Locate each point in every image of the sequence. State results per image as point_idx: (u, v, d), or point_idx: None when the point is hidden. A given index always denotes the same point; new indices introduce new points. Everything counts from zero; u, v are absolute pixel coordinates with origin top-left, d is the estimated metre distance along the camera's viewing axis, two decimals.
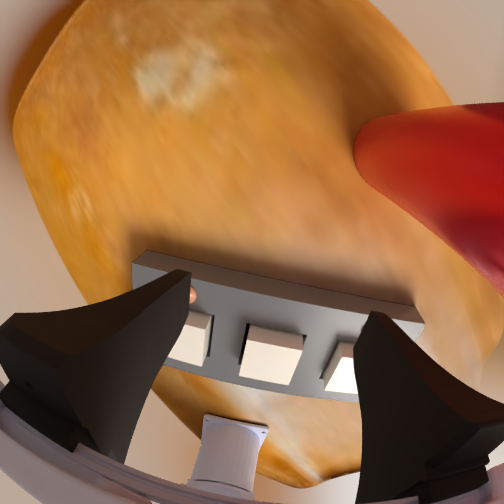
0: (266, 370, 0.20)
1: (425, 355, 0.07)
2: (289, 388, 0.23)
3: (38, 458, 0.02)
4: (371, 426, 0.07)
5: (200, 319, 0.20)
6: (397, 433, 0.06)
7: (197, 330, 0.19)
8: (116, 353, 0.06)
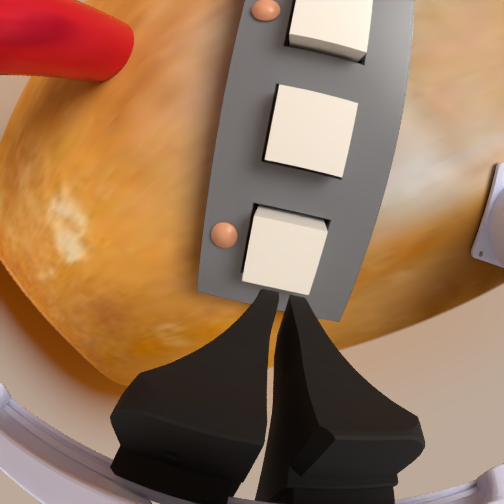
0: (325, 135, 0.13)
1: (329, 343, 0.07)
2: (388, 107, 0.13)
3: (38, 458, 0.02)
4: (274, 417, 0.08)
5: None
6: (283, 427, 0.06)
7: (256, 226, 0.15)
8: None
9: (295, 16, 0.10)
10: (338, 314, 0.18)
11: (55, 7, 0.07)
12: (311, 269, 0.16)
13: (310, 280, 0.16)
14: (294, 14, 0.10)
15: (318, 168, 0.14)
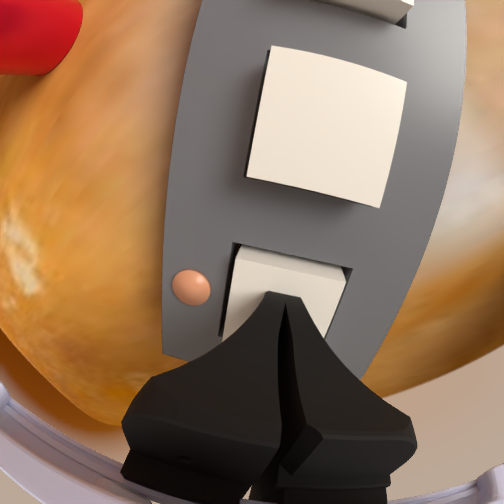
0: (354, 133, 0.07)
1: (322, 342, 0.07)
2: (443, 95, 0.07)
3: (38, 458, 0.02)
4: None
5: None
6: None
7: (239, 273, 0.10)
8: None
9: None
10: None
11: None
12: (319, 331, 0.11)
13: None
14: None
15: (340, 192, 0.08)
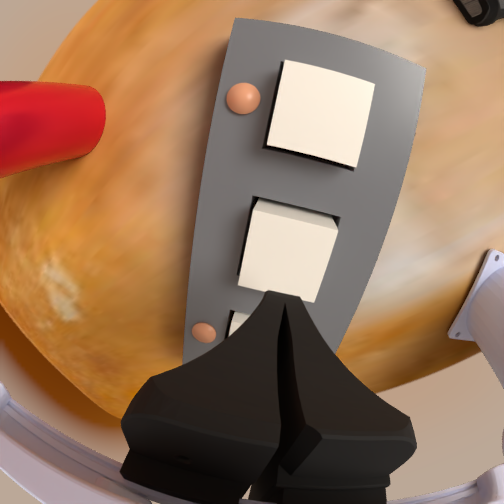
0: (300, 264, 0.14)
1: (322, 342, 0.07)
2: (375, 220, 0.14)
3: (38, 458, 0.02)
4: None
5: None
6: None
7: (234, 329, 0.17)
8: None
9: (275, 119, 0.11)
10: None
11: (3, 115, 0.07)
12: None
13: None
14: (274, 116, 0.11)
15: (290, 294, 0.14)
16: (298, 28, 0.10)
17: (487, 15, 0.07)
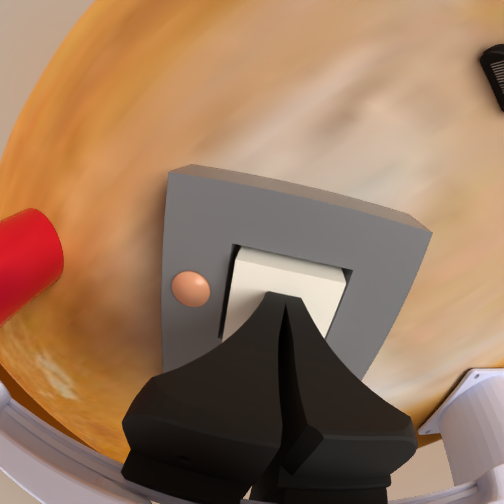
0: None
1: (322, 342, 0.07)
2: None
3: (38, 458, 0.02)
4: None
5: None
6: None
7: None
8: None
9: (228, 323, 0.11)
10: None
11: None
12: None
13: None
14: (227, 320, 0.11)
15: None
16: (255, 190, 0.10)
17: None
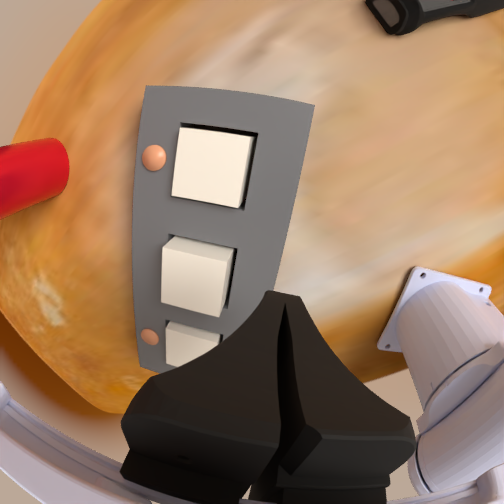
0: (202, 287, 0.17)
1: (321, 342, 0.07)
2: (268, 250, 0.17)
3: (38, 458, 0.02)
4: None
5: None
6: None
7: (168, 334, 0.20)
8: None
9: (175, 176, 0.15)
10: None
11: None
12: None
13: None
14: (174, 173, 0.15)
15: (200, 310, 0.18)
16: (193, 89, 0.14)
17: (406, 22, 0.11)
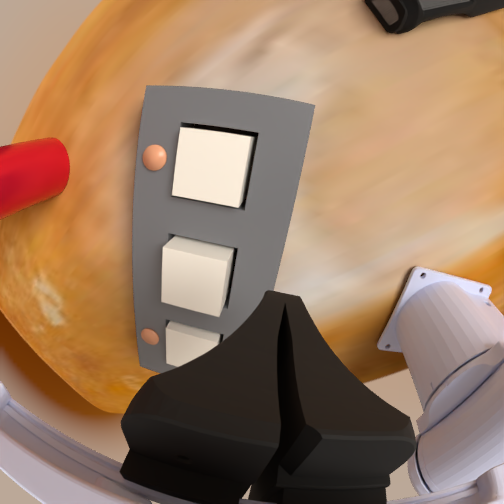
0: (202, 287, 0.17)
1: (321, 342, 0.07)
2: (268, 249, 0.17)
3: (38, 458, 0.02)
4: None
5: None
6: None
7: (168, 334, 0.20)
8: None
9: (176, 176, 0.15)
10: None
11: None
12: None
13: None
14: (175, 173, 0.15)
15: (200, 310, 0.18)
16: (194, 89, 0.14)
17: (405, 20, 0.11)
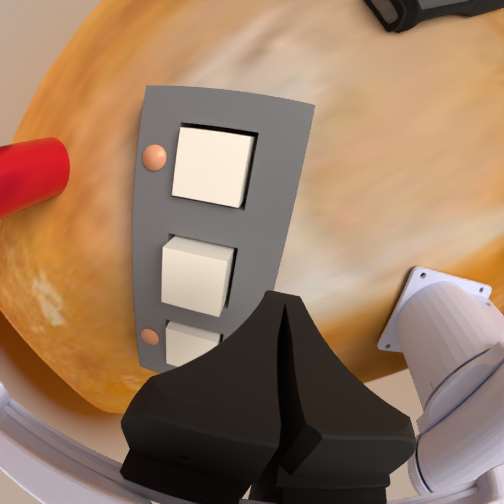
0: (202, 287, 0.17)
1: (321, 342, 0.07)
2: (268, 249, 0.17)
3: (38, 458, 0.02)
4: None
5: None
6: None
7: (168, 334, 0.20)
8: None
9: (176, 176, 0.15)
10: None
11: None
12: None
13: None
14: (175, 173, 0.15)
15: (200, 310, 0.18)
16: (194, 89, 0.14)
17: (404, 19, 0.11)
